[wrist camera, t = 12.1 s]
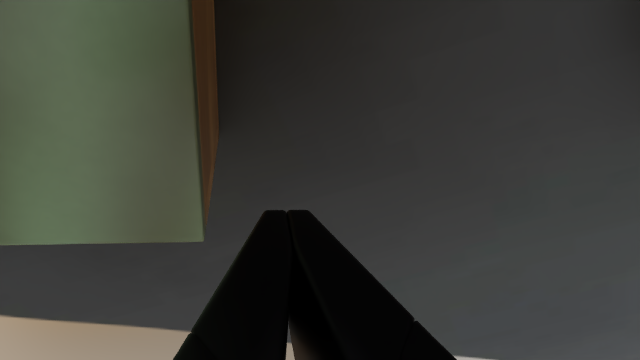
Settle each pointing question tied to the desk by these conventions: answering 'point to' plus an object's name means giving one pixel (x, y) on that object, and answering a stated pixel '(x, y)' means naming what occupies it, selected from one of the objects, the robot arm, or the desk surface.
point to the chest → (206, 89)
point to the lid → (99, 123)
